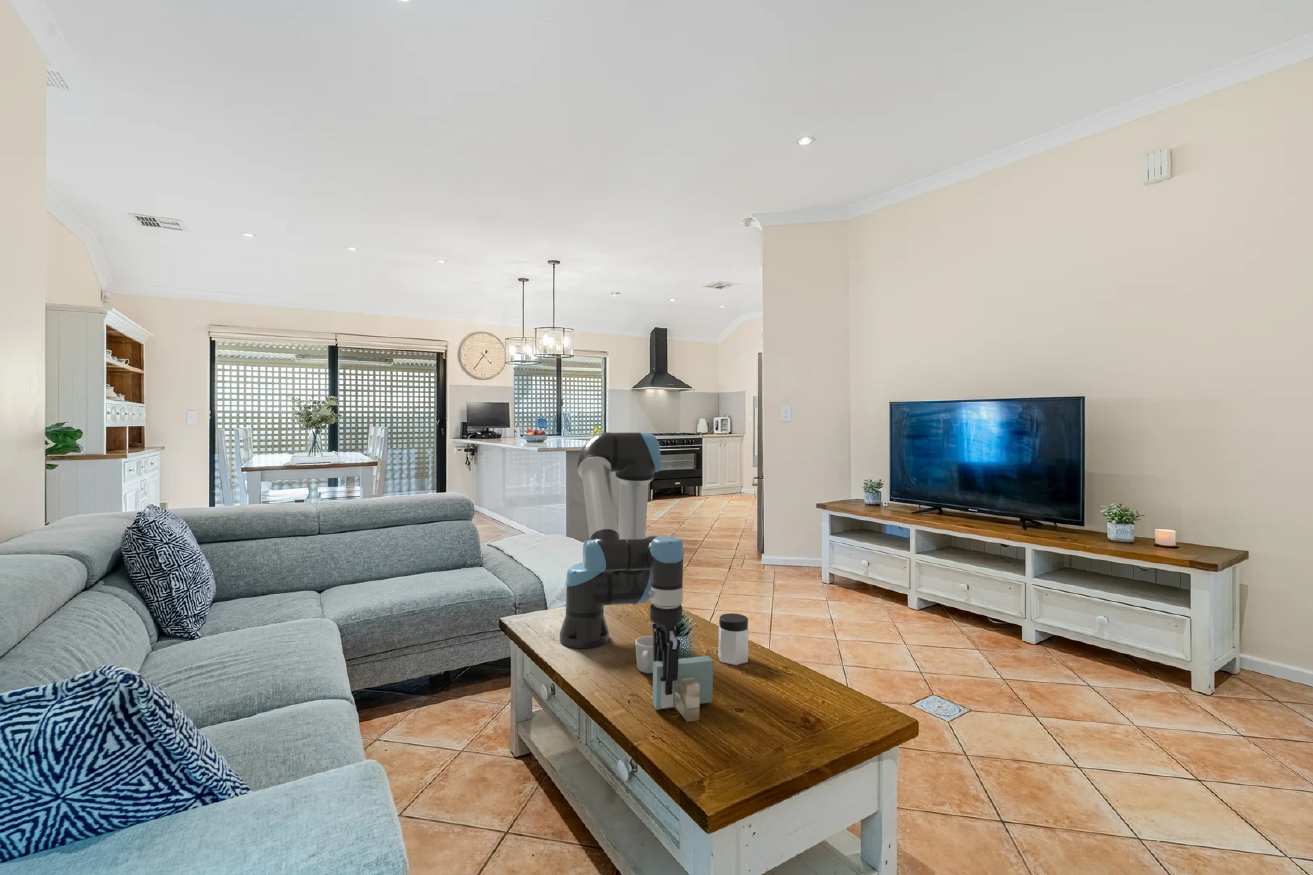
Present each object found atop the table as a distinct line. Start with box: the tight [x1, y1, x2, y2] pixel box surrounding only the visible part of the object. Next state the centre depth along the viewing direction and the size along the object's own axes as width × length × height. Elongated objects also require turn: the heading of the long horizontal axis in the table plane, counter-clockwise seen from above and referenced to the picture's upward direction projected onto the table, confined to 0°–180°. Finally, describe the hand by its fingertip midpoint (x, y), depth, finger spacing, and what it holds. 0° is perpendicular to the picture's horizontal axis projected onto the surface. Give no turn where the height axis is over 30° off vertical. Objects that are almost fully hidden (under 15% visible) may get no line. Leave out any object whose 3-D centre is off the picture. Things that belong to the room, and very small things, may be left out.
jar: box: [717, 613, 749, 666], centre depth 172 cm, size 9×8×12 cm
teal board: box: [652, 655, 714, 710], centre depth 142 cm, size 3×14×10 cm, turn 108°
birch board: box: [675, 677, 700, 723], centre depth 142 cm, size 14×3×8 cm, turn 18°
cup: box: [634, 635, 653, 674], centre depth 162 cm, size 11×8×8 cm
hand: (664, 702), depth 141 cm, fingers closed on teal board, 3 cm apart
